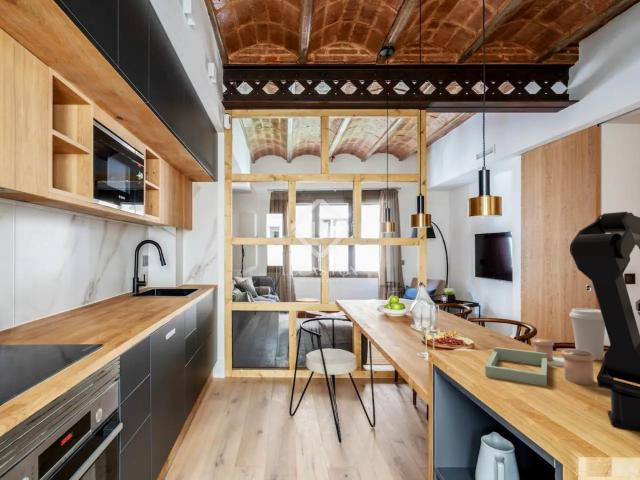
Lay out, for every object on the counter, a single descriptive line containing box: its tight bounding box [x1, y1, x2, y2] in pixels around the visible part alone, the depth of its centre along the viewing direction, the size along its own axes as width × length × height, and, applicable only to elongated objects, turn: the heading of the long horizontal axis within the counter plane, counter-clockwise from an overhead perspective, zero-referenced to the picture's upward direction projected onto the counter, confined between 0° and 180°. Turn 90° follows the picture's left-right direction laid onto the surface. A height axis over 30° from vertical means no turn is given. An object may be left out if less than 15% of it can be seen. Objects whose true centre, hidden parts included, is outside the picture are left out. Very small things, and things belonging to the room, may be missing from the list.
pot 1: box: [532, 337, 555, 361], centre depth 109 cm, size 6×6×6 cm
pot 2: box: [561, 348, 595, 386], centre depth 91 cm, size 7×7×7 cm
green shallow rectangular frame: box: [484, 346, 548, 387], centre depth 99 cm, size 18×14×4 cm
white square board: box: [547, 355, 565, 368], centre depth 108 cm, size 10×12×1 cm
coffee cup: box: [569, 307, 606, 361], centre depth 110 cm, size 10×10×15 cm
